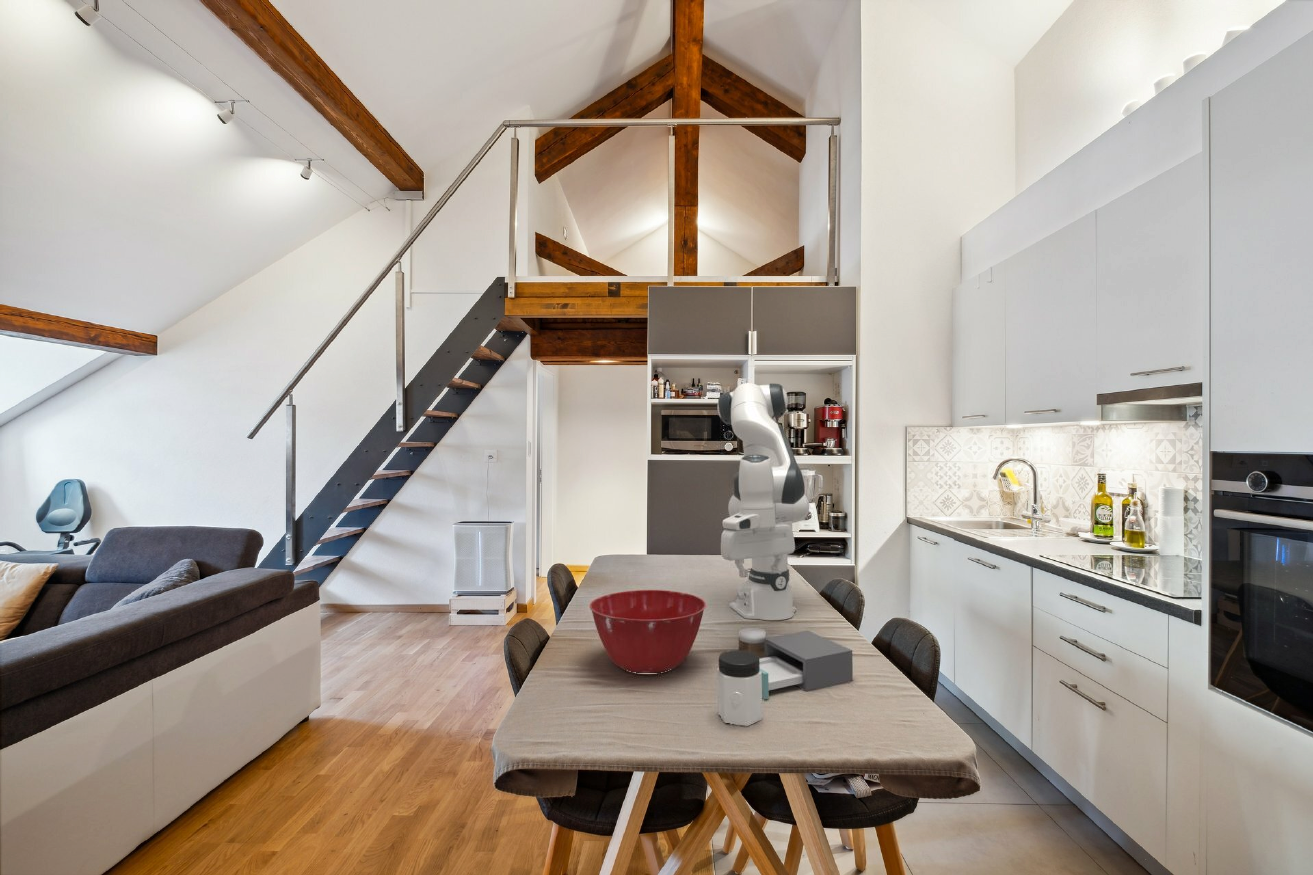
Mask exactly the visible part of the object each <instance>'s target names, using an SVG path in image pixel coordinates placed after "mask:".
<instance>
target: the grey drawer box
mask: <svg viewBox="0 0 1313 875" xmlns="http://www.w3.org/2000/svg"><path fill="white" fill-rule="evenodd" d="M764 651H765V658H766V657H771V656H776V657H778V658H780V659H781V660H783V661H785V662H787V663H789V664H791V665H792V666H794V667H796V668H798V669H800V670H802V671H803V683H800V684H796V685H795V686H797V688H800V689H801V690H804V691H805V692H809V691H815V690H819V689H823V688H827V687H832V686H833V687H834V686H836V685H837V686H838V685H841V684H845V683H846V684H847V683H850V682H853V676H854V675H853V670H854V669H853V649H850V648H848V647H846V646H843V645H841V644H839V643H837V642H835V641H832V640H830V639H828V638H826V637H823V636H822V635H818V634H816V633H814V632H812V631H810V630H804V631H803V630H802V631H797V632H792V633H786V634H781V635H774V636H769V637H766V638H764Z"/></svg>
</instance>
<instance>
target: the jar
mask: <svg viewBox="0 0 1313 875" xmlns="http://www.w3.org/2000/svg"><path fill="white" fill-rule="evenodd" d="M716 679H717V680H716V681H717V683H716V684H717V688H716V689H717V691H716V692H717V714H718V716H719V715H720V716H721V717H720V716H719V717H720V718H721V720H722V721H723V723H724V722H725V723H732V724H738V725H737V726H740V725H745V726H744V727H749V725H750V726H751V724H752V725H753V724H755V723H757V722H759V721H761V720H763V698H762V673H761V672H760V663H759V657H758V656H757V655H756V654H754V653H752V652H748V651H740V650H739V649H738V650H726V651H725V652H721V653H720V654H719V655H718V667H717V670H716ZM725 723H724V724H725ZM732 724H731V725H732Z"/></svg>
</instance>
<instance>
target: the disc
mask: <svg viewBox="0 0 1313 875" xmlns="http://www.w3.org/2000/svg"><path fill="white" fill-rule="evenodd" d="M766 632H767V631H765V629H762V628H757V627H745V628H741V629H740V630H739V631H738V636H739V637H738V640H739V639H740V640H741V641H742V642H746V643H762V642H764V638H767V635H766V634H767V633H766Z"/></svg>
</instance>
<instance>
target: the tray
mask: <svg viewBox="0 0 1313 875" xmlns="http://www.w3.org/2000/svg"><path fill="white" fill-rule="evenodd" d="M759 663H760V672H761V673H762V700H763V699H764V700H767V699H769V698H770V696H769V695H770V693H769V691H772V690H777V689H781V688H786V687H789V686H796V684H800V683H803V671H802V670H800V669H798V668H796V667H794V666H792V665H791V664H789V663H787V662H785V661H783V660H781V659H780V658H778V657H776V656H771V657H766V658H761V659H759Z"/></svg>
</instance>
